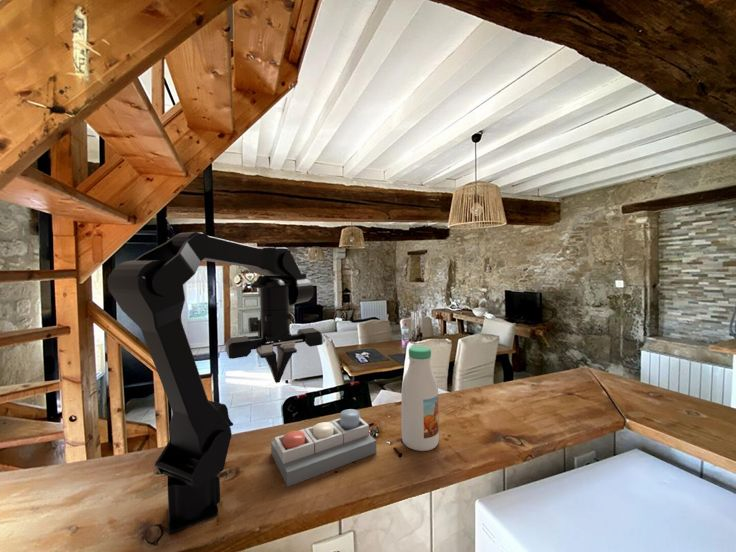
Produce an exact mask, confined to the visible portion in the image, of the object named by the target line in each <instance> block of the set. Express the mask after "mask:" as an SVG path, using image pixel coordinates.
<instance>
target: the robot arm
mask: <svg viewBox="0 0 736 552" xmlns="http://www.w3.org/2000/svg"><path fill="white" fill-rule="evenodd" d="M202 261H204V262H205V261H206V262H212V263H218V264H226V265H232V266H237V267H243V268H246V269H247V270H249V271H250V272H251V273H254V274H257V275H258V278H257V279H256V280H255V281H253V283H252V284H251V288H252V289H259V301H260V302H259V303H260V315H259V316H260V318H259V317H258V316H256V317H255V316H254V317H248V319H247V320H248V322H247V323H248V333H249V334H252V333H253V334H255V333H257V337H258V338H257V339H252V340H251V339H249V338H248V337H249V336H247V335H245V336H236V337H229V338H227V340H226V342H225V350H226V351H225V352H226V354H227V356H228V359H230V360H231V359H232V360H233V359H239V358H240V359H241V358H246V357H248V356H249V355H250V354H251V353H252V350H256V353H257V355H258V356H259V358H261V359H265V360H266V362H267V365H268V367H269V370H270V372H271V374H272V378H273V380H274V382H275V384H277V383H281V380H282V377H283V375H284V373H285V370H286V367H287V365H288V363H289V362H290V359H291V357H292V356H293V354H295V353H296V354H297V353H298V349H296V347H295V346H296V344H300V343H305V344H306V345H307V346H308V347H316V346H322V345H323V344H324V337H323V333H322V332H321V331H320V330H317V329H316V328H314V327H308V328H299V329H297V332H296V333H295V334H291V325H290V324H291V322H290V321H291V313H290V306H293V305H296V304H301V303H305V302H310V300H311V299H312V298H313V296H314V293H315V288H314V285H313V284H312V282H311V281H310V279H308V278H307V273H306V272H305V273H304V272H303V273H302V272H301V270H300V268H299V267H298V264H297V261H296V260H295V258H294V256H293V254H291V250H290V249H289V248H287V247H284V246H283V247H280V246H279V247H274V246H273V247H272V246H271V247H258V246H257V247H256V246H252V245H249V244H244V243H240V242H236V241H232V240H227V239H223V238H219V237H215V236H210V235H207V234H205V233H203V232H202V231H201V232H200V231H189V232H180V233H177V234H176V235H174V236H172V237H171V238H170V239H168V240H167V241H166V242H164V243H162V244H160V245H158V246H156V247H154V248H153V249H150V250H148V251H147V252H144V253H143V254H141V255H139V256H138V257H137V258H135V259H134V260H129V261H123V262H122V263H119V264H118V265H116V266H115V267H114V268H113V269H112V271H111V273H110V274H109V276H108V277H107V281H106V282H107V287H108V291H109V292H110V294H111V296H112V297H113V299H114V301H115V302H116V304H117V305H118V307H119V308H120V309H121V311H122V312H123V313H124V314H125V315H126V316H127V317H128V318H129V319H130V320H131V321H133V323H135V324H136V326H138V328H139V329H140V331H141V334H142V336H143V338H144V341H145V343H146V346H147V348H148V349H147V350H148V352H149V354H150V356H151V359H152V362H153V365H154V367H155V369H156V372H157V374H158V377H159V379H160V383H161V385H162V388H163V390H164V393H165V395H166V397H167V401H168V404H169V406H170V409H171V412H172V414H171V419H170V422H169V426H168V431H169V437H170V440H169V441H168V443H167V444H166V446H165V447H164V449H163V450H162V451H161V453H160V455H159V457H157V458H158V459H157V460H156V461H155V463H154V466H155V468H156V470H157V472H158V474H159V475H164V476H166V477H167V505H168V506H167V508H168V509H167V511H168V512H167V513H168V514H167V515H168V516H167V533H168V535H170V534H174V533H177V532H179V531H182V530H184V529H187V528H189V527H192V526H195V525H197V524H200V523H202V522H205V521H208V520H210V519H213V518H215V517H217V516H218V515H219V507H218V504H220V502H221V483H220V482H221V481H220V473H222V472H223V471H224V469H225V466H226V460H227V456H228V452H229V447H230V442H231V440H232V436H233V435H232V428H231V427H232V426H234V423H233V422H232V421H231V419H230V416H229V409H228V407H227V405H226V404H225V403H221V402H216V401H213V400H209V399H208V396H207V393H206V390H205V387H204V383H203V381H202V379H201V378H202V377H201V375H200V372H199V369H198V366H197V364H196V360H195V357H194V354H193V351H192V348H191V346H190V345H191V344H190V343H189V339H188V337H187V333H186V330H185V328H184V325H183V322H182V313H183V309H184V305H185V302H186V301H185V300H186V296H185V295H186V294H185V290H184V289H185V288H184V285H185V284H186V283H187V282H188V281H189V280H190V279H191V278H192V277H194V275H195V274H196V273H197V271H198V268H199V267H200V265H201V263H202ZM274 347H276V352H277V353H276V352H275V350H274Z"/></svg>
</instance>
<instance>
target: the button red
mask: <svg viewBox="0 0 736 552" xmlns="http://www.w3.org/2000/svg"><path fill="white" fill-rule="evenodd" d="M283 435H284V436H283V447H284V449H285V450H288V449H291V448H294V447H297V446H300V445H304V444H305V434H304V433H303V432H302V431H298V430H290V431H288V432H286V433H285V434H283Z"/></svg>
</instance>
